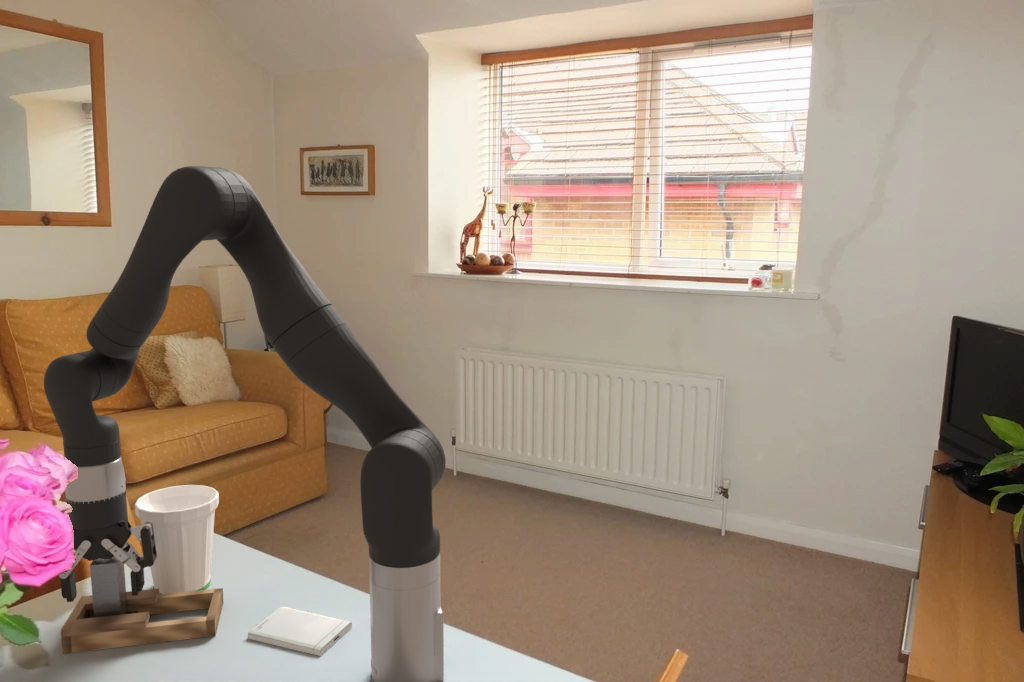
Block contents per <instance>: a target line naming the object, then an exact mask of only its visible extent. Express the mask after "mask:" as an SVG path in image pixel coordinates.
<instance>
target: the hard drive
mask: <svg viewBox="0 0 1024 682" xmlns="http://www.w3.org/2000/svg"><path fill="white" fill-rule="evenodd" d="M352 627H353V622H352V621H350V620H349V621H348V620H344V619H341V618H340V619H338V618H335V617H331V616H326V615H323V614H319V613H313V612H309V611H305V610H300V609H295V608H292V607H287V606H279V608H277V609H276V610H274V611H273V612H272V613H271V614H269V615H268V616H267V617H265V618H264V619H263V620H262V621H260V622H259V623H257V624H255V626H253V627H252V628H251V629H249V631H248V632H247V639H248V640H253V641H257V642H261V643H265V644H269V645H274V646H278V647H281V648H285V649H291V650H294V651H298V652H303V653H307V654H312V655H315V656H319V657H321V656H322V655H323V654H325V652H327V651H328V650H329V649H330V648H331V647H333V645H335V643H336V642H338V641H339V640H340V639H341V638H342V637H343V636H344V635H345V634H346V633H347V632H348V631H350V630H351V629H352Z"/></svg>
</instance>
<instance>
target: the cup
mask: <svg viewBox="0 0 1024 682" xmlns="http://www.w3.org/2000/svg"><path fill="white" fill-rule="evenodd" d="M219 493H220V492H219V491H218V490H217V489H215V488H214V487H212V486H207V485H203V484H200V485H199V484H185V485H172V486H169V487H164V488H158V489H156V490H153V491H150V492H148V493H145V494H143V495H142V496H140V497H139V498H137V499H136V502H135V503H134V511H135V512H134V513H135V515H136V516H137V518H138V519H139V520H140V524H141V525H144V524H145V523H146V522H151V523H152V524H153V530H154V537H155V544H156V552H157V557H156V559H155V561H154V564H153V565H152V566H151V567H149V569H150V573H151V578H152V582H153V589H159V594H170V593H180V592H190V591H199V590H207V588H208V587H209V586H210V584H211V575H212V561H213V559H212V558H213V557H212V556H213V547H214V546H213V545H214V530H215V529H214V528H215V515H216V514H215V513H216V509H217V508H218V507H219V503H220V495H219Z"/></svg>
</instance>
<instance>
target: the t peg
mask: <svg viewBox="0 0 1024 682" xmlns="http://www.w3.org/2000/svg"><path fill="white" fill-rule="evenodd" d="M89 571H90V572H89V573H90V584H91V595H92V597H93V609H94V618H95V617H104V616H114V615H123V614H132V613H139V610H137V611H127V598H126V592H127V589H126V577H125V576H126V575H125V563H122V562H120V561H119V560H118V559H117V558H116V557H115V556H114V557H112V559H100V558H99V559H96V560H92V561H91V563H90V564H89Z"/></svg>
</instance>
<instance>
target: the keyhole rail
mask: <svg viewBox="0 0 1024 682" xmlns="http://www.w3.org/2000/svg"><path fill="white" fill-rule="evenodd" d="M126 598H127V611H137V610H139V613H132V614H123V615H114V616H104V617H95V618H94V609H93V597H92V594H91V595H82V596H81V597H80V598H79V600H78V602H77V603H76V605H75V606H74V608H73V609H72V611H71V613H70V614H69V616H68V618H67V619H66V621H65V622H64V623H63V625H62V627H61V628H60V640H61V652H62V654H70V653H80V652H88V651H96V650H103V649H105V650H106V649H113V648H114V649H115V648H122V647H129V646H130V647H131V646H132V647H133V646H138V645H147V644H155V643H164V642H173V641H175V642H176V641H182V640H191V639H198V638H200V639H201V638H207V637H208V638H209V637H215V636H216V635H217V631H218V627H219V624H220V623H219V622H220V619H221V614H222V611H223V606H224V604H225V603H224V588H222V587H220V588H210V589H205V590H199V591H190V592H180V593H170V594H159V589H155V588H151V589H142V590H141V591H140V592H139V594H138V595H135V596H132V590H131V591H126ZM203 609H204V610H205V609H208V610H207V611H208V612H207V615H206V616H201V617H191V618H181V619H175V620H174V619H173V620H165V621H156V622H149V621H150V617H151V616H150V615H157V614H166V613H167V614H168V613H175V612H176V611H177V612H186V611H194V610H203Z"/></svg>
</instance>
